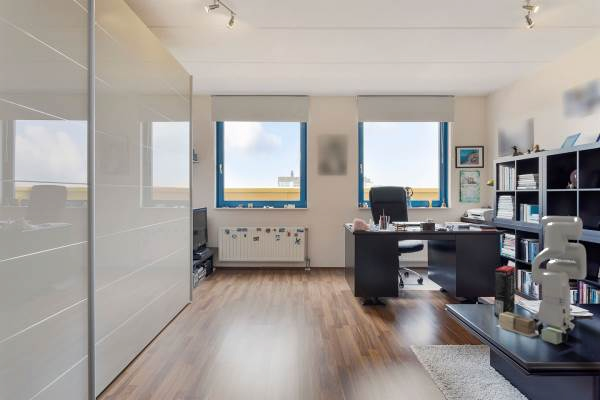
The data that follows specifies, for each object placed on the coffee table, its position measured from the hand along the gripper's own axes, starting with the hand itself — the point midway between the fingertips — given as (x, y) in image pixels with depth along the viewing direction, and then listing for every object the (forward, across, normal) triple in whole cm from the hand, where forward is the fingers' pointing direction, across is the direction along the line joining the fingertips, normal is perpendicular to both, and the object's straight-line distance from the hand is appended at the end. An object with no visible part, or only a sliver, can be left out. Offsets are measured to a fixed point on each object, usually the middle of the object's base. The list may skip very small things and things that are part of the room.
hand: (552, 337), depth 159 cm
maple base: (+1, +20, -1) cm, 20 cm away
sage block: (+3, 0, 0) cm, 3 cm away
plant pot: (+3, +4, -13) cm, 14 cm away
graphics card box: (+2, +34, -19) cm, 39 cm away
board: (+3, +16, -1) cm, 16 cm away
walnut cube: (+1, +13, -1) cm, 13 cm away
